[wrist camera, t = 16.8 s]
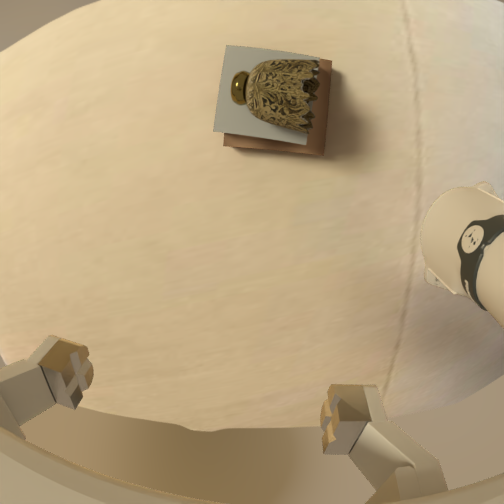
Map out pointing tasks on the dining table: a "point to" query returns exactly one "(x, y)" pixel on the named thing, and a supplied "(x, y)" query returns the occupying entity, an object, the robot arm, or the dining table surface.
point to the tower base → (316, 135)
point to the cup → (279, 92)
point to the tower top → (240, 117)
